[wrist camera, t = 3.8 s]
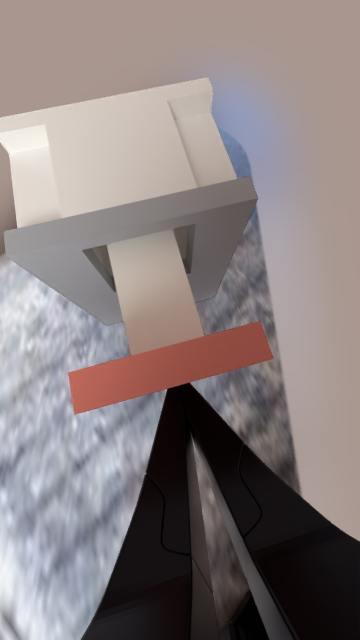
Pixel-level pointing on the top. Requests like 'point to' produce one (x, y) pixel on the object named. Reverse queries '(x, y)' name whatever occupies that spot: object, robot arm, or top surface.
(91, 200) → the box
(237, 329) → the button
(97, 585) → the top surface
